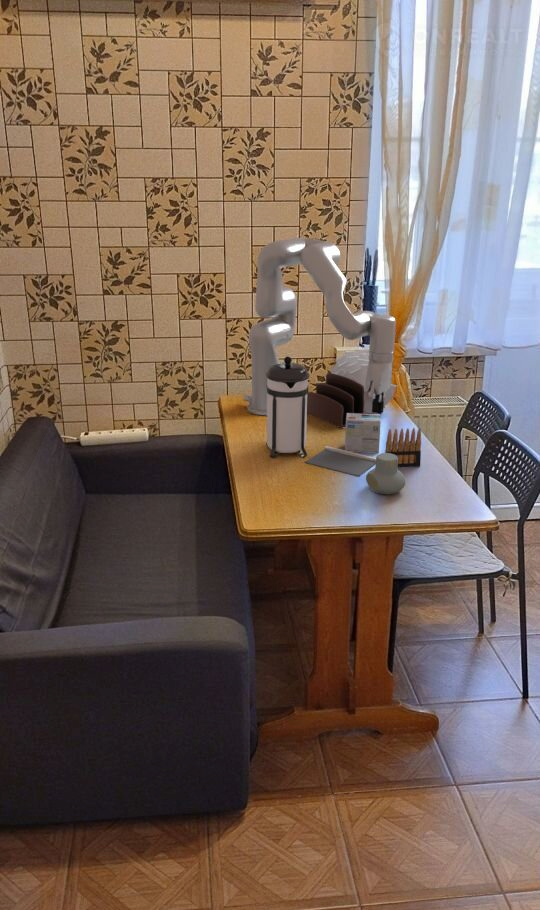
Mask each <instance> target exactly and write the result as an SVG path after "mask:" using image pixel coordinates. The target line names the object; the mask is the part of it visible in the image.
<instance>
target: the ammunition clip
mask: <svg viewBox="0 0 540 910" xmlns="http://www.w3.org/2000/svg"><path fill="white" fill-rule="evenodd" d="M410 433H411V435H410ZM404 434H405V435H404ZM398 435H399V437H398ZM392 437H393V438H392ZM385 443H386V444H385V450H384V453H391V454H394V455H396V456H397V457H398V468H397V469H399V468H419V467H421V460H422V459H421V458H422V457H421V456H422V450H421V448H422V430H421V427H418V429H417V432H416V429H415V427H413V428H412V429H411V432H410V428H409V427H407V429H406V431H405V433H404V428H401V429H400V431H399V434H398V428H395V429H394V432H393V434H392V430H391V428H389V429H388V432H387V439H386V442H385Z"/></svg>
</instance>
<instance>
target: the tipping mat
mask: <svg viewBox="0 0 540 910" xmlns="http://www.w3.org/2000/svg"><path fill="white" fill-rule="evenodd" d="M304 463H305V464H308V463H309V465H313V466H317V467H320V468H324V469H328V470H332V471H337V472H340V473H344V474H348V475H351V476H355V477H361V476H362V475H363V474H365V473H366V472H367V471H368V470H369V471H370V469H371V468H373V467H374V466H376V457H374V456H370V455H366V454H363V453H362V454H361V453H359V452H350V451H346V450H345V449H340V448H337V447H333V446H330V445H329V446H328V445H326V446H324V449H323V450H321V451H319V452H318V453H316V454H315V455H313V456H312V457H310V458H309V459H307V460H305V461H304Z"/></svg>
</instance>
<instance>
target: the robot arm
mask: <svg viewBox="0 0 540 910" xmlns="http://www.w3.org/2000/svg"><path fill="white" fill-rule="evenodd" d="M256 261H257V262H256V264H257V265H256V268H257V275H256V276H257V278H256V288H255V304H254V305H255V312H256V314H257V315H258V316H259V317H260V318H262V319H266V320H262V321H260V322H258V323H257V322H256V323H255V324H254V325H253V326H252V327H251V328H250V330H249V332H248V341H249V347H250V354H251V356H250V357H251V394H249V393H245V394H244V396H243V398H242V399H243V401H245V402H248V405H247V407H246V408H247V412H249V413H250V414H253V415H257V416H267V392H266V385H267V377H266V372H267V371H268V369H269V368H270V367H271V366H272V365H274V364H277V363H280V358H279V355H278V352H277V350H276V348H277V347H280V346H282V345H285V344H288V343H289V342H290V341H291V340H292V339H293V337H294V333H295V328H296V326H295V325H296V317H297V316H296V315H297V304H298V303H297V297H296V294H295V293H294V290H292V289H291V288H290V287H288V286H285V285H283V283H284V278H283V272H282V270H281V269H283V268H288V267H294V266H300V265H302V267H303V268H304V269H305V270H306V272H307V274H308V275H309V277H310V278H311V279H312V281H313V282H314V283H315V285H316V287H318V289H319V290H320V292H321V293H322V295H323V297H324V304H325V309H326V315H327V317H328V319H329V321H330V322H331V324H332V325H333V327H334V328H335V329H336V330H337V332H338V333H339V334H340V335H341V336H342V337H343V338H344V339H346V340H349V341H350V340H351V341H354V340H358V339H360V338H362V337H367V336H369V349H368V355H369V361H370V362H369V364H368V369H367V375H366V383H365V392H366V393H368V392H370V398H372V401H373V402H372V412H373V413H372V414H380V415H381V414H383V413H384V409H385V408H384V401H383V400H384V399H385V393H386V391H387V390H388V389H389V388H390V387H391V384H392V381H393V379H392V378H393V363H394V355H395V354H394V353H395V341H396V340H395V339H396V326H397V320H396V319H395V318H396V317H394V316H392V315H387V314H380V313H377V312H373V311H370V310H363V311H358V312H356V313H352V312H351V311H350V309H349V307H348V306H347V305H346V303H345V301H344V295H343V293H344V289H345V288H346V286H347V283H348V280H347V278H346V277H345V275H344V274H343V273H342V271H341V270H340V268H339V267H338V265H339V264H340V261H341V252H340V249H339V248H338V247H337V246H336V245H335V244H334V243H332V242H330V241H324V240H319V239H312V238H306V237H305V238H304V237H296V238H289V239H282V240H276V241H272V242H269V243H267V244H265V245H264V246H263V247H262V248H261V249H260V250H259V253H258V256H257V260H256Z"/></svg>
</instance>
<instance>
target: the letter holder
mask: <svg viewBox="0 0 540 910" xmlns="http://www.w3.org/2000/svg"><path fill="white" fill-rule="evenodd" d="M315 386H316V387H315V392H313V391H308V393H307V415H308V414H309V415H310V414H311V416H312V417H315V418H317V417H318V418H317V419H319V418H320V419H319V420H323V421H325V422H326V421H327V422H326V423H328V422H329V423H328V424H331V423H332V424H331V425H333V424H334V425H333V426H335V425H336V426H335V427H337V426H339V427H338V428H340V427H341V429H343V428H342V427H345V428H346V415H347V413H356V414H365V411H364V387H363V386H362V385H361V384H359V383H358V382H356V381H354V380H352V379H349V378H347V377H344V376H340V375H337V374H333V373H332V372H327V373H326V374H325V383H322V382H317V383H316V385H315Z"/></svg>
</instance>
